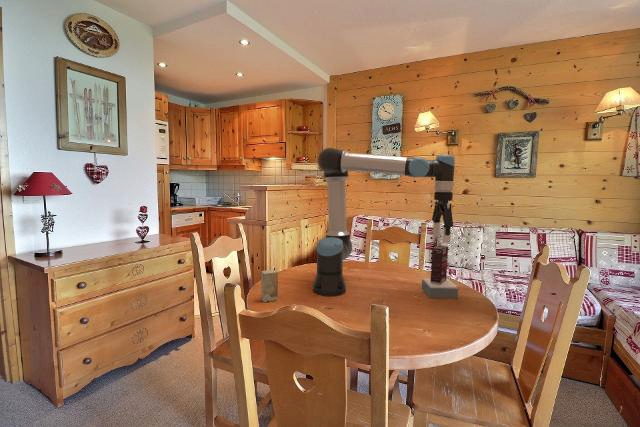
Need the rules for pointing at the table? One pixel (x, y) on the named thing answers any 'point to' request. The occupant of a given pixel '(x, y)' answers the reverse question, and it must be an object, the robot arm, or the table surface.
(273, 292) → the skincare box
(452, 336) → the table surface
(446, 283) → the platform
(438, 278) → the supplement box
